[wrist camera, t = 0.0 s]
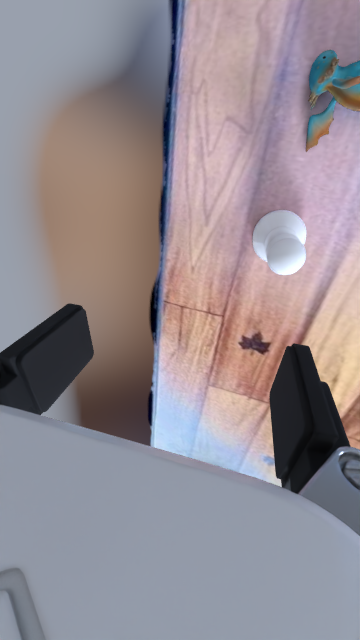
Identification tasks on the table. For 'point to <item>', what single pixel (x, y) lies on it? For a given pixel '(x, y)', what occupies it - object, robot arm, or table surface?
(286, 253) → the chess pawn
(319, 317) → the table surface
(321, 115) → the dragon figurine
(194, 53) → the table surface
